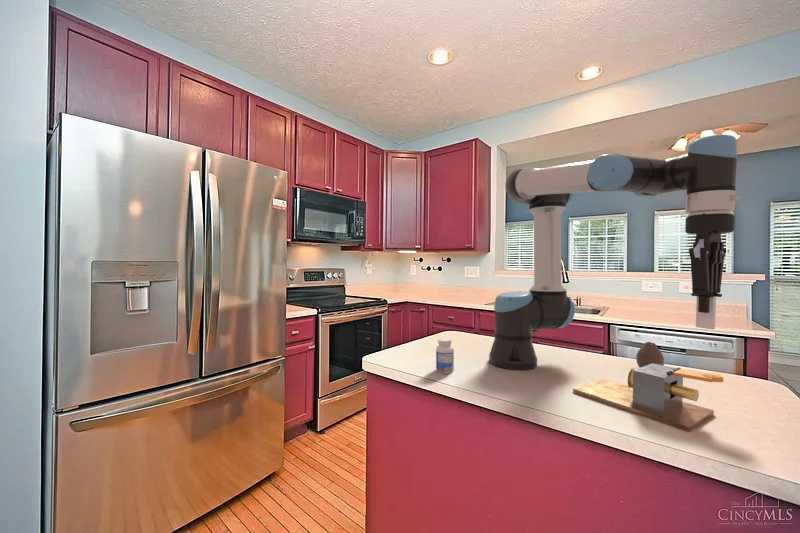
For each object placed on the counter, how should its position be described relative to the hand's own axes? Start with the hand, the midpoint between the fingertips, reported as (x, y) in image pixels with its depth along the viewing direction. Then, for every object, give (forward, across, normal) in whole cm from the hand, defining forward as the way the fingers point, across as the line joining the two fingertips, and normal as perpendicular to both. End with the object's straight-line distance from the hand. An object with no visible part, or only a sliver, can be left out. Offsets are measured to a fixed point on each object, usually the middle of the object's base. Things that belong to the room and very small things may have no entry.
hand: (705, 327), depth 71 cm
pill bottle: (+21, -24, +55) cm, 64 cm away
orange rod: (+11, 0, +1) cm, 11 cm away
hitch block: (+20, 0, +12) cm, 24 cm away
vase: (+21, +29, +21) cm, 41 cm away
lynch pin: (+17, 0, +7) cm, 19 cm away
